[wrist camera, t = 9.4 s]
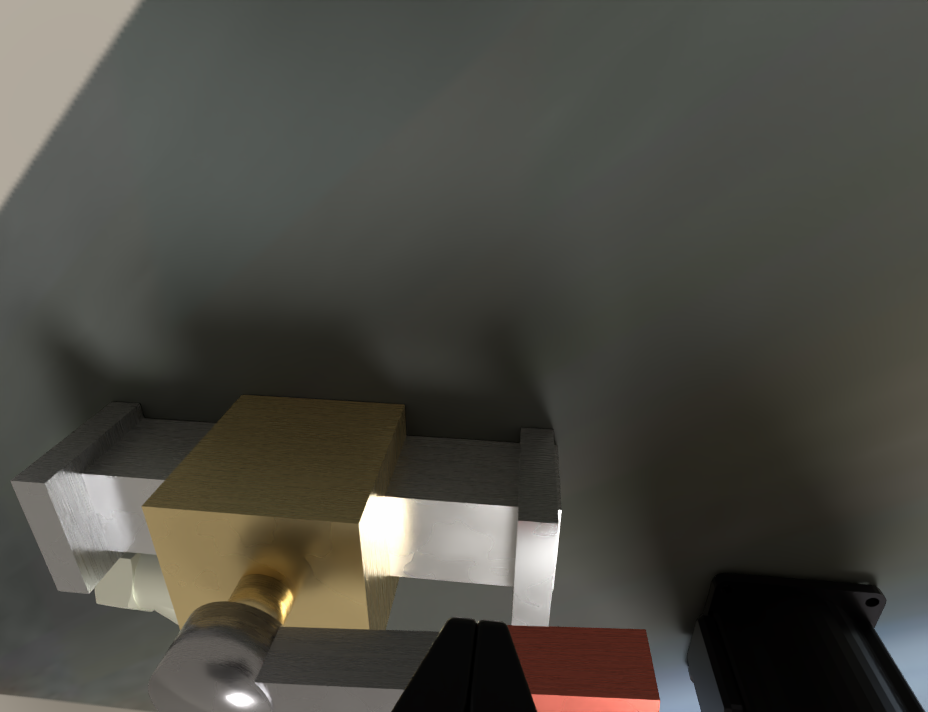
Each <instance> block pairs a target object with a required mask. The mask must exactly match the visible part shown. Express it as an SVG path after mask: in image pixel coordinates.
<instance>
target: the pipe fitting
mask: <svg viewBox="0 0 928 712" xmlns="http://www.w3.org/2000/svg"><path fill="white" fill-rule="evenodd" d="M95 596H96V602H97V604H102V605H107V606H113V607H119V608H126V609H134V610H142V611H150V612H152V611H153V610H155V611H157V612H159V613H160V614H162V615H163V616H165V617H167V618H168V619H170V620H171V621H173V622H175V623H176V624H178V621H177V618H176V614H175V611H174V608H173V605H172V602H171V599H170V595H169V592H168V589H167V586H166V583H165V580H164V576H163V573H162V570H161V567H160V564H159V561H158V558H157V555H154V554H142V553H131V552H124V553H123V555H122V556H121V557H120V558H119V559H118V561H117V562H116V563H115V564H114V565H113V566H112V568H111V569H110V570H109V571H108V572H107V573H106V575H105V576H104V577H103V578H102V579H101V581H100V582H99V583H98V584H97V585H96V586H95ZM178 625H179V624H178Z"/></svg>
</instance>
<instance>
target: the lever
mask: <svg viewBox="0 0 928 712" xmlns="http://www.w3.org/2000/svg"><path fill="white" fill-rule="evenodd" d="M477 625H478V624H477ZM507 626H508V629H509V631H510V634H511V637H512V640H513V643H514V646H515V649H516V652H517V655H518V657H519V660H520V663H521V666H522V669H523V672H524V675H525V678H526V681H527V683H528V686H529V689H530V692H531V695H532V698H533V701H534V704H535V707H536V709H537V712H659V706H660V698H659V693H658V688H657V683H656V678H655V673H654V668H653V663H652V658H651V653H650V648H649V643H648V638H647V633H646V630H645V629H612V628H580V627H547V626H515V625H507ZM439 633H440V632H431V631H400V630H370V629H340V628H309V627H284V626H283V625H282V624H281V623H280V622H279V621H278V620H277V619H275V618H274V617H272V616H271V615H270V614H268V613H266V612H264V611H262V610H260V609H258V608H255V607H253V606H250V605H246V604H243V603H237V602H229V601H219V602H212V603H208V604H205V605H202V606H200V607H199V608H197V609H196V610H194V611H193V612H192V614H191V615H190V616H189V618H188V619H187V621H186V622H185V624H184V626H183V627H182V629H181V630H180V632H179V634H178V635H177V637H176V638H175V640H174V641H173V643H172V645H171V646H170V648H169V649H168V651H167V653H166V654H165V656H164V657H163V659H162V660H161V662H160V664H159V665H158V667H157V668H156V670H155V672H154V673H153V675H152V676H151V678H150V680H149V684H148V692H149V696H150V699H151V701H152V703H153V704H154V706H155V707H156V709H157V710H158V711H159V712H391V711H392V709H393V708H394V706H395V704H396V703H397V701H398V700H399V698H400V696H401V695H402V693H403V691H404V690H405V688H406V687H407V685H408V683H409V682H410V680H411V678H412V677H413V675H414V674H415V672H416V670H417V669H418V667H419V665H420V664H421V662H422V660H423V659H424V657H425V656H426V654H427V652H428V651H429V649H430V647H431V646H432V644H433V643H434V641H435V639H436V638H437V636H438V634H439Z"/></svg>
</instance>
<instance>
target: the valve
mask: <svg viewBox="0 0 928 712" xmlns="http://www.w3.org/2000/svg"><path fill="white" fill-rule="evenodd" d="M11 483H12V486H13V488H14V490H15V493H16V495H17V497H18V499H19V502H20V504H21V506H22V509H23V511H24V513H25V516H26V518H27V520H28V522H29V525H30V527H31V529H32V532H33V534H34V536H35V539H36V541H37V543H38V545H39V548H40V550H41V552H42V555H43V557H44V559H45V561H46V564H47V566H48V568H49V571H50V573H51V575H52V578H53V580H54V582H55V584H56V587H57V589H58V591H65V592H75V593H85V594H89V593H90V592H91V591H92V590H93V589H94V588H95V586H96V585H97V584H98V583H99V582H100V581H101V579H102V578H103V577H104V576H105V575H106V573H107V572H108V571H109V570H110V569H111V568H112V566H113V565H114V564H115V563H116V562H117V561H118V559H119V558H120V557H121V556H122V555H123V553H124V552H131V553H142V554H154V555H157V558H158V561H159V564H160V567H161V570H162V573H163V576H164V580H165V583H166V586H167V589H168V592H169V595H170V599H171V602H172V605H173V608H174V611H175V614H176V618H177V621H178V624H179V627H180V630H181V629H182V627H183V626H184V624H185V622H186V621H187V619H188V618H189V616H190V615H191V614H192V612H193V611H194V610H196V609H197V608H199V607H200V606H202V605H205V604H208V603H212V602H219V601H229V602H237V603H243V604H246V605H250V606H253V607H255V608H258V609H260V610H262V611H264V612H266V613H268V614H270V615H271V616H272V617H274V618H275V619H277V620H278V621H279V622H280V623H281V624H282V625H283V626H284V627H309V628H340V629H370V630H386V626H387V622H388V619H389V615H390V611H391V607H392V603H393V600H394V596H395V592H396V588H397V585H398V581H399V577H411V578H422V579H433V580H445V581H456V582H467V583H478V584H489V585H501V586H512V587H513V599H512V625H515V626H547V627H548V625H549V615H550V605H551V595H552V590H553V589H554V579H555V570H556V560H557V550H558V541H559V531H560V521H561V512H562V509H561V493H560V478H559V463H558V447H557V445H554V431H553V430H552V429H536V428H521V438H520V443H512V442H497V441H482V440H466V439H451V438H436V437H421V436H406V419H405V405H404V404H387V403H371V402H354V401H338V400H321V399H305V398H288V397H272V396H255V395H241V396H240V398H239V399H238V400H237V401H236V402H235V403H234V404H233V405H232V406H231V408H230V409H229V410H228V411H227V412H226V413H225V414H224V415H223V416H222V418H221V419H220V420H219V421H218V422H217V423H208V422H192V421H177V420H162V419H147V418H144V417H143V413H142V410H141V406H140V403H124V402H111V403H109V404H108V405H107V406H105V407H104V408H103V409H102V410H100V411H99V412H98V413H96V414H95V415H94V416H93V417H91V418H90V419H89V420H88V421H86V422H85V423H84V424H82V425H81V426H80V427H79V428H77V429H76V430H75V431H73V432H72V433H71V434H70V435H68V436H67V437H66V438H64V439H63V440H62V441H61V442H59V443H58V444H57V445H56V446H54V447H53V448H52V449H50V450H49V451H48V452H47V453H45V454H44V455H43V456H41V457H40V458H39V459H38V460H36V461H35V462H34V463H32V464H31V465H30V466H29V467H27V468H26V469H25V470H24V471H22V472H21V473H20V474H18V475H17V476H16V477H15V478H13V479H12V480H11Z"/></svg>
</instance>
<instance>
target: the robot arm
mask: <svg viewBox="0 0 928 712" xmlns="http://www.w3.org/2000/svg"><path fill="white" fill-rule="evenodd" d="M726 585H728V586H726ZM885 604H886V598H885V596H884V595H883V593H882V592H881V590H880V589H879V588H878V587H876V586H872V585H862V584H851V583H839V582H827V581H815V580H803V579H791V578H779V577H767V576H756V575H744V574H732V573H722V574H719V575H717V576H716V577H714V579H713V580H712V583H711V587H710V591H709V594H708V598H707V602H706V605H705V609H704V613H703V615H701V616H700V617H699V618H698V619H697V620H696V624H695V628H694V632H693V635H692V639H691V643H690V647H689V650H688V654H687V660H688V663H689V668H688V672H689V676H690V679H691V681H692V682H693V683H694V686H695V690H696V694H697V698H698V701H699V705H700V709H701V712H925V710H924V709H923V707H922V706H921V704H920V702H919V701H918V699H917V697H916V696H915V694H914V693H913V691H912V689H911V688H910V686H909V684H908V683H907V681H906V679H905V678H904V676H903V675H902V673H901V671H900V670H899V668H898V666H897V665H896V663H895V662H894V660H893V658H892V657H891V655H890V653H889V652H888V650H887V649H886V647H885V645H884V644H883V642H882V640H881V639H880V637H879V636H878V634H877V632H876V631H875V629H874V628H875V625H876V623H877V621H878V619H879V617H880V615H881V613H882V611H883V609H884V606H885ZM391 712H537V709H536V707H535V704H534V701H533V698H532V695H531V692H530V689H529V686H528V683H527V681H526V678H525V675H524V672H523V669H522V666H521V663H520V660H519V657H518V655H517V652H516V649H515V646H514V643H513V640H512V637H511V634H510V631H509V629H508V626H507V625H506V623H504V622H502V621H493V620H481V621H479V622H478V625H477V622H476V620H475V619H472V618H461V617H451V618H449V619H448V620H447V622H446V623H445V625H444V626H443V628H442V630H441V631H440V633H439V634H438V636H437V638H436V639H435V641H434V643H433V644H432V646H431V647H430V649H429V651H428V652H427V654H426V656H425V657H424V659H423V660H422V662H421V664H420V665H419V667H418V669H417V670H416V672H415V674H414V675H413V677H412V678H411V680H410V682H409V683H408V685H407V687H406V688H405V690H404V691H403V693H402V695H401V696H400V698H399V700H398V701H397V703H396V704H395V706H394V708H393V709H392V711H391Z"/></svg>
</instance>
